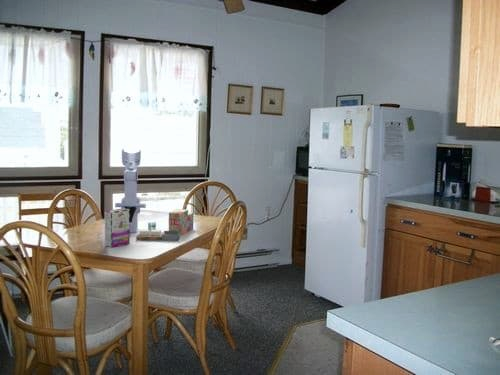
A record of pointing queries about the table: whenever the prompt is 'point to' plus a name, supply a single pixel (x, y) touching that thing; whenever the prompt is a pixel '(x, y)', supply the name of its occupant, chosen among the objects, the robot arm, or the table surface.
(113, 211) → the candy bar box
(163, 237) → the tray
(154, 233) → the tile
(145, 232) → the tile
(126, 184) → the robot arm
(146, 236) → the board
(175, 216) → the stack of blocks
